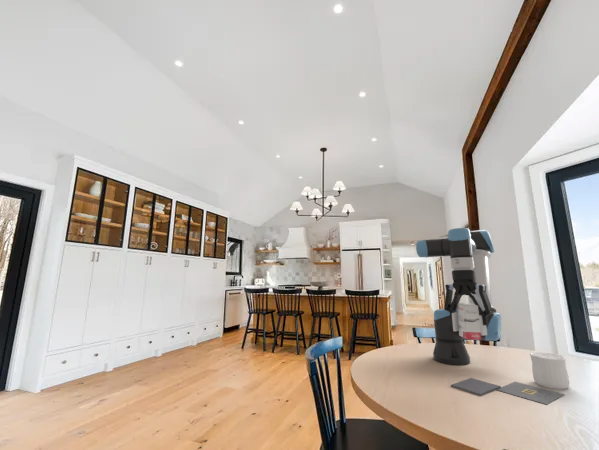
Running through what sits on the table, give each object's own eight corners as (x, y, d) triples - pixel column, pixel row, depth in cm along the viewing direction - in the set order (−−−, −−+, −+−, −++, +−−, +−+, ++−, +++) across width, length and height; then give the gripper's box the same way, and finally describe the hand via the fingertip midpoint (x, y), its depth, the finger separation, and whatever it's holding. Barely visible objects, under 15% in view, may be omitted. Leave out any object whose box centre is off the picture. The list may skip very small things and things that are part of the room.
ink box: (483, 340, 99) (478, 304, 102) (466, 340, 100) (462, 304, 103) (473, 335, 108) (469, 302, 110) (458, 335, 109) (455, 302, 111)
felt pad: (451, 386, 102) (450, 384, 102) (471, 379, 109) (471, 377, 109) (480, 396, 94) (480, 394, 94) (500, 387, 100) (500, 386, 100)
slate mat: (495, 390, 99) (495, 389, 99) (515, 382, 106) (515, 381, 106) (546, 404, 87) (546, 403, 87) (564, 394, 94) (564, 393, 94)
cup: (528, 382, 105) (524, 353, 107) (544, 378, 109) (540, 351, 111) (559, 391, 97) (554, 360, 99) (576, 386, 101) (571, 356, 103)
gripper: (430, 270, 116) (435, 329, 112) (488, 268, 97) (497, 339, 93) (441, 270, 120) (447, 327, 115) (500, 268, 101) (509, 336, 97)
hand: (469, 332), depth 104 cm, fingers closed on ink box, 9 cm apart
